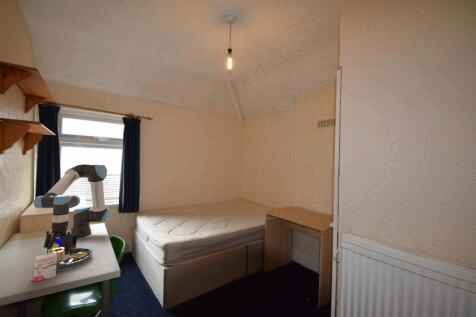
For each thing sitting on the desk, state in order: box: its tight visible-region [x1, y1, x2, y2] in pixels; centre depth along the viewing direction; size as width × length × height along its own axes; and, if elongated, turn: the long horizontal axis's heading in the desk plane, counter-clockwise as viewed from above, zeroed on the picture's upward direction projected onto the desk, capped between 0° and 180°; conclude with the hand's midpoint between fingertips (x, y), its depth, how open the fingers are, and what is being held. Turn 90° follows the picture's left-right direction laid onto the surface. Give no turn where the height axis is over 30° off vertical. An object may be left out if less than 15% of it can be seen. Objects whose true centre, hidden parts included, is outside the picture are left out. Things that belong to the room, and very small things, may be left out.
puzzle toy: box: [51, 234, 78, 249], centre depth 145 cm, size 10×10×10 cm
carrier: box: [56, 247, 93, 273], centre depth 129 cm, size 26×26×6 cm
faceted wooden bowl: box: [49, 247, 65, 263], centre depth 122 cm, size 8×8×6 cm
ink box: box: [32, 252, 57, 283], centre depth 111 cm, size 9×5×12 cm, turn 139°
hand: (57, 259), depth 122 cm, fingers closed on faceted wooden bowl, 8 cm apart
